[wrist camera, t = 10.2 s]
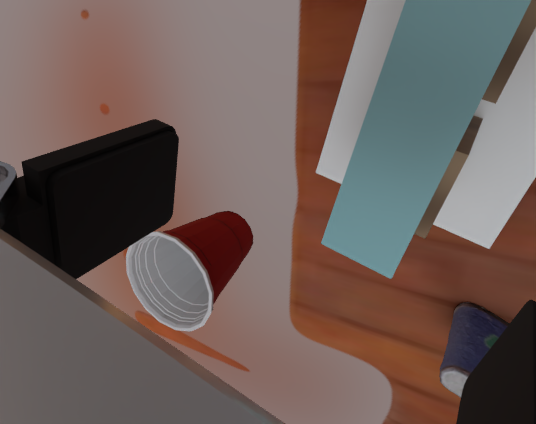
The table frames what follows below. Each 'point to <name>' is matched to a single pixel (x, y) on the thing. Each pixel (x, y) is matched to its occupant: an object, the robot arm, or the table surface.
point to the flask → (468, 343)
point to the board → (484, 147)
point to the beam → (417, 122)
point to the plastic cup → (187, 267)
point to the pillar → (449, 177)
